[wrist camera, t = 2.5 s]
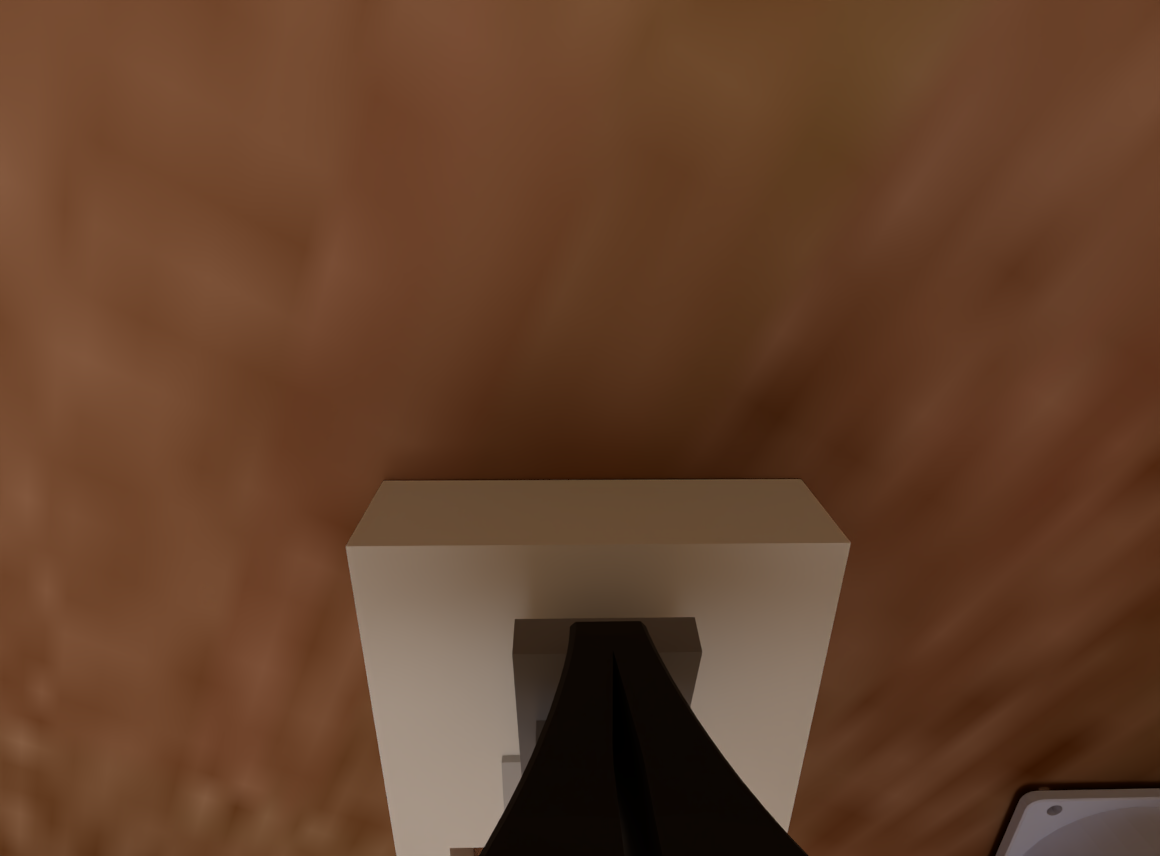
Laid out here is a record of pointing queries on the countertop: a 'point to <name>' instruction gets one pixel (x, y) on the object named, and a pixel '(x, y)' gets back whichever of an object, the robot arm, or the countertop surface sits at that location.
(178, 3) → the countertop surface
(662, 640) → the rocker switch
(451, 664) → the socket plate
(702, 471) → the countertop surface
